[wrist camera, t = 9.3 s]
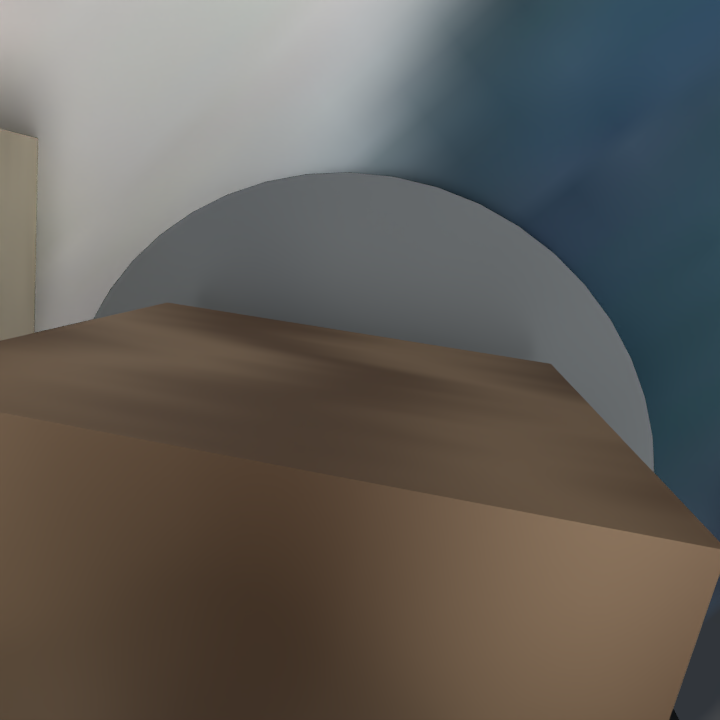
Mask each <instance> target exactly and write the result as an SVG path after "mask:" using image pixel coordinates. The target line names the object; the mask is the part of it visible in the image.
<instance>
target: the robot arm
mask: <svg viewBox="0 0 720 720" xmlns="http://www.w3.org/2000/svg"><path fill="white" fill-rule="evenodd" d="M669 720H679V719H678V717H677V715H676V713H675V711H674V709H673V710H672V713H671V716H670V719H669Z"/></svg>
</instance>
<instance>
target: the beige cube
mask: <svg viewBox="0 0 720 720" xmlns="http://www.w3.org/2000/svg"><path fill="white" fill-rule="evenodd" d="M37 168H38V138H34V137H30V136H27V135H23V134H19V133H15V132H11V131H7V130H3V129H0V341H1V340H5V339H10V338H14V337H19V336H23V335H27V334H32V333H34V319H35V269H36V219H37Z"/></svg>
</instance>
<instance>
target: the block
mask: <svg viewBox="0 0 720 720" xmlns="http://www.w3.org/2000/svg"><path fill="white" fill-rule="evenodd" d="M719 574H720V542H719V541H718V540H717V539H716V538H715V537H714V536H713V535H712V534H711V533H710V532H709V530H708V529H707V528H706V527H705V526H704V525H703V524H702V523H701V522H700V521H699V520H698V519H697V518H696V517H695V516H694V515H693V514H692V512H691V511H690V510H689V509H688V508H687V507H686V506H685V505H684V504H683V503H682V502H681V501H680V500H679V499H678V498H677V497H676V496H675V495H674V493H673V492H672V491H671V490H670V489H669V488H668V487H667V486H666V485H665V484H664V483H663V482H662V481H661V480H660V479H659V478H658V477H657V475H656V474H655V473H654V472H653V471H652V470H651V469H650V468H649V467H648V466H647V465H646V464H645V463H644V462H643V461H642V460H641V459H640V457H639V456H638V455H637V454H636V453H635V452H634V451H633V450H632V449H631V448H630V447H629V446H628V445H627V444H626V443H625V442H624V441H623V440H622V438H621V437H620V436H619V435H618V434H617V433H616V432H615V431H614V430H613V429H612V428H611V427H610V426H609V425H608V424H607V423H606V422H605V420H604V419H603V418H602V417H601V416H600V415H599V414H598V413H597V412H596V411H595V410H594V409H593V408H592V407H591V406H590V405H589V404H588V402H587V401H586V400H585V399H584V398H583V397H582V396H581V395H580V394H579V393H578V392H577V391H576V390H575V389H574V388H573V387H572V386H571V385H570V383H569V382H568V381H567V380H566V379H565V378H564V377H563V376H562V375H561V374H560V373H559V372H558V371H557V370H556V369H555V368H554V367H553V365H552V364H549V363H543V362H537V361H530V360H524V359H518V358H512V357H505V356H499V355H493V354H487V353H480V352H474V351H468V350H462V349H455V348H449V347H443V346H437V345H430V344H424V343H418V342H412V341H405V340H399V339H393V338H387V337H380V336H374V335H368V334H362V333H355V332H349V331H343V330H336V329H330V328H324V327H318V326H311V325H305V324H299V323H293V322H286V321H280V320H274V319H268V318H261V317H255V316H249V315H243V314H236V313H230V312H224V311H218V310H211V309H205V308H199V307H193V306H186V305H180V304H174V303H168V302H167V303H163V304H159V305H154V306H150V307H145V308H141V309H137V310H132V311H128V312H124V313H119V314H115V315H110V316H106V317H102V318H97V319H93V320H89V321H84V322H80V323H75V324H71V325H67V326H62V327H58V328H54V329H49V330H45V331H40V332H36V333H32V334H27V335H23V336H19V337H14V338H10V339H5V340H1V341H0V720H669V719H670V716H671V713H672V710H673V707H674V704H675V701H676V698H677V696H678V692H679V690H680V687H681V684H682V681H683V678H684V675H685V672H686V670H687V667H688V664H689V661H690V658H691V655H692V652H693V649H694V646H695V644H696V641H697V638H698V635H699V632H700V629H701V626H702V623H703V620H704V617H705V615H706V612H707V609H708V606H709V603H710V600H711V597H712V594H713V591H714V589H715V586H716V583H717V580H718V577H719Z"/></svg>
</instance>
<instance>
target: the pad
mask: <svg viewBox="0 0 720 720" xmlns="http://www.w3.org/2000/svg"><path fill="white" fill-rule="evenodd" d="M167 302H168V303H174V304H180V305H186V306H193V307H199V308H205V309H211V310H218V311H224V312H230V313H236V314H243V315H249V316H255V317H261V318H268V319H274V320H280V321H286V322H293V323H299V324H305V325H311V326H318V327H324V328H330V329H336V330H343V331H349V332H355V333H362V334H368V335H374V336H380V337H387V338H393V339H399V340H405V341H412V342H418V343H424V344H430V345H437V346H443V347H449V348H455V349H462V350H468V351H474V352H480V353H487V354H493V355H499V356H505V357H512V358H518V359H524V360H530V361H537V362H543V363H549V364H552V365H553V367H554V368H555V369H556V370H557V371H558V372H559V373H560V374H561V375H562V376H563V377H564V378H565V379H566V380H567V381H568V382H569V383H570V385H571V386H572V387H573V388H574V389H575V390H576V391H577V392H578V393H579V394H580V395H581V396H582V397H583V398H584V399H585V400H586V401H587V402H588V404H589V405H590V406H591V407H592V408H593V409H594V410H595V411H596V412H597V413H598V414H599V415H600V416H601V417H602V418H603V419H604V420H605V422H606V423H607V424H608V425H609V426H610V427H611V428H612V429H613V430H614V431H615V432H616V433H617V434H618V435H619V436H620V437H621V438H622V440H623V441H624V442H625V443H626V444H627V445H628V446H629V447H630V448H631V449H632V450H633V451H634V452H635V453H636V454H637V455H638V456H639V457H640V459H641V460H642V461H643V462H644V463H645V464H646V465H647V466H648V467H649V468H650V469H651V470H652V471H653V472H654V460H653V437H652V432H651V427H650V422H649V416H648V411H647V406H646V401H645V397H644V394H643V391H642V388H641V385H640V382H639V380H638V377H637V374H636V371H635V368H634V366H633V363H632V360H631V357H630V356H629V354H628V352H627V350H626V348H625V346H624V344H623V342H622V340H621V339H620V337H619V335H618V333H617V331H616V329H615V327H614V325H613V324H612V322H611V320H610V319H609V317H608V316H607V314H606V313H605V312H604V310H603V309H602V308H601V306H600V305H599V304H598V302H597V301H596V299H595V298H594V297H593V295H592V294H591V293H590V291H589V290H588V289H587V287H586V286H585V285H584V284H583V283H582V282H581V281H580V280H579V279H578V278H577V277H576V275H575V274H574V273H573V272H572V271H571V270H570V269H569V268H568V267H567V266H566V265H565V264H564V263H563V262H562V261H561V260H560V259H559V258H558V257H557V256H556V255H555V254H554V253H553V252H551V251H550V250H549V249H547V248H546V247H545V246H544V245H542V244H541V243H540V242H538V241H537V240H536V239H534V238H533V237H532V236H531V235H529V234H528V233H527V232H525V231H524V230H523V229H521V228H520V227H519V226H517V225H515V224H514V223H512V222H510V221H508V220H507V219H505V218H503V217H501V216H500V215H498V214H496V213H494V212H492V211H491V210H489V209H487V208H485V207H484V206H482V205H480V204H478V203H476V202H473V201H470V200H468V199H465V198H463V197H460V196H458V195H455V194H453V193H450V192H448V191H445V190H443V189H440V188H438V187H434V186H430V185H426V184H421V183H417V182H413V181H409V180H405V179H401V178H397V177H391V176H381V175H371V174H361V173H350V172H349V173H324V174H305V175H300V176H295V177H289V178H284V179H278V180H273V181H267V182H264V183H261V184H258V185H255V186H252V187H249V188H246V189H243V190H240V191H237V192H234V193H231V194H228V195H226V196H224V197H222V198H220V199H218V200H216V201H214V202H212V203H210V204H208V205H206V206H204V207H202V208H200V209H198V210H196V211H194V212H192V213H191V214H189V215H188V216H186V217H185V218H183V219H182V220H181V221H179V222H178V223H176V224H175V225H174V226H172V227H171V228H169V229H168V230H166V231H165V232H164V233H162V234H161V235H159V236H158V237H157V238H156V239H155V240H154V241H153V242H152V243H151V244H150V245H149V246H148V247H147V248H146V249H145V250H144V251H143V252H142V253H141V254H140V255H138V256H137V257H136V258H135V259H134V260H133V261H132V263H131V264H130V265H129V266H128V268H127V269H126V270H125V271H124V273H123V274H122V275H121V277H120V278H119V279H118V280H117V282H116V283H115V284H114V286H113V287H112V288H111V289H110V291H109V293H108V294H107V296H106V298H105V300H104V301H103V303H102V305H101V307H100V308H99V310H98V312H97V314H96V315H95V317H94V319H97V318H102V317H106V316H110V315H115V314H119V313H124V312H128V311H132V310H137V309H141V308H145V307H150V306H154V305H159V304H163V303H167Z"/></svg>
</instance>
